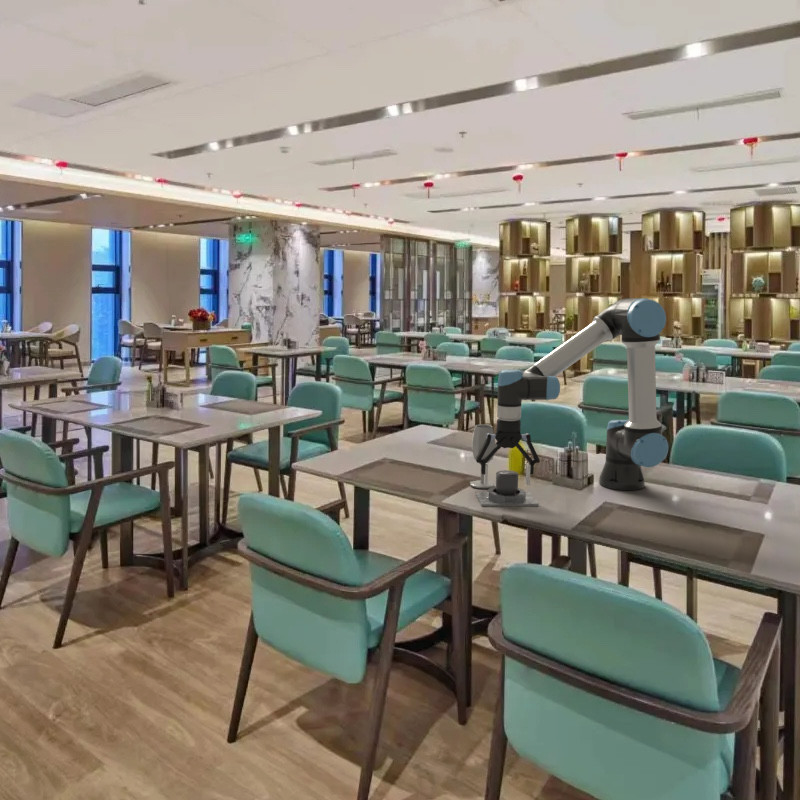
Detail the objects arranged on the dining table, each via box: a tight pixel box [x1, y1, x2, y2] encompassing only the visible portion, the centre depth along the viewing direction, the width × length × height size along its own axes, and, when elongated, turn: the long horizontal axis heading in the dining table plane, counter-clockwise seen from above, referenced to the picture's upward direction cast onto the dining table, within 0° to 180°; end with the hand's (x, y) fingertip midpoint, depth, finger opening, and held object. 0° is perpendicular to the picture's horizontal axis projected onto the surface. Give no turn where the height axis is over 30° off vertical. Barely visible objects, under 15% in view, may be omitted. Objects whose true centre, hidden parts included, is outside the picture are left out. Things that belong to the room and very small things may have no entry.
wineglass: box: [469, 424, 496, 490], centre depth 252 cm, size 9×9×21 cm
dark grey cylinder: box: [495, 469, 519, 495], centre depth 236 cm, size 7×7×8 cm
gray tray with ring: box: [475, 486, 539, 507], centre depth 237 cm, size 18×13×3 cm
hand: (506, 484), depth 236 cm, fingers open, 13 cm apart
